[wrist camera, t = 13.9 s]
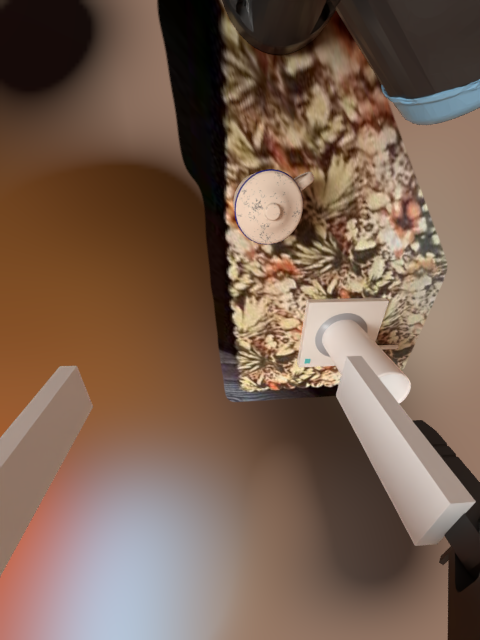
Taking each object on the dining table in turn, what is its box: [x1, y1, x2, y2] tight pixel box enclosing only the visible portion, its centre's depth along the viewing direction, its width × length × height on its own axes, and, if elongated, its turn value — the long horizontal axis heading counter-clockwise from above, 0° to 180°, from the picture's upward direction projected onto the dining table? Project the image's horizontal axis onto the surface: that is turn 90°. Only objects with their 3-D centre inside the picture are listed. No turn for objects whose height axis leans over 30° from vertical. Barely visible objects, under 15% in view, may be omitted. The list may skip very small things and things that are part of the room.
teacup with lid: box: [234, 169, 314, 244], centre depth 35 cm, size 12×9×12 cm
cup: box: [322, 320, 411, 403], centre depth 46 cm, size 8×8×16 cm
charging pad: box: [297, 298, 398, 367], centre depth 54 cm, size 16×22×2 cm
